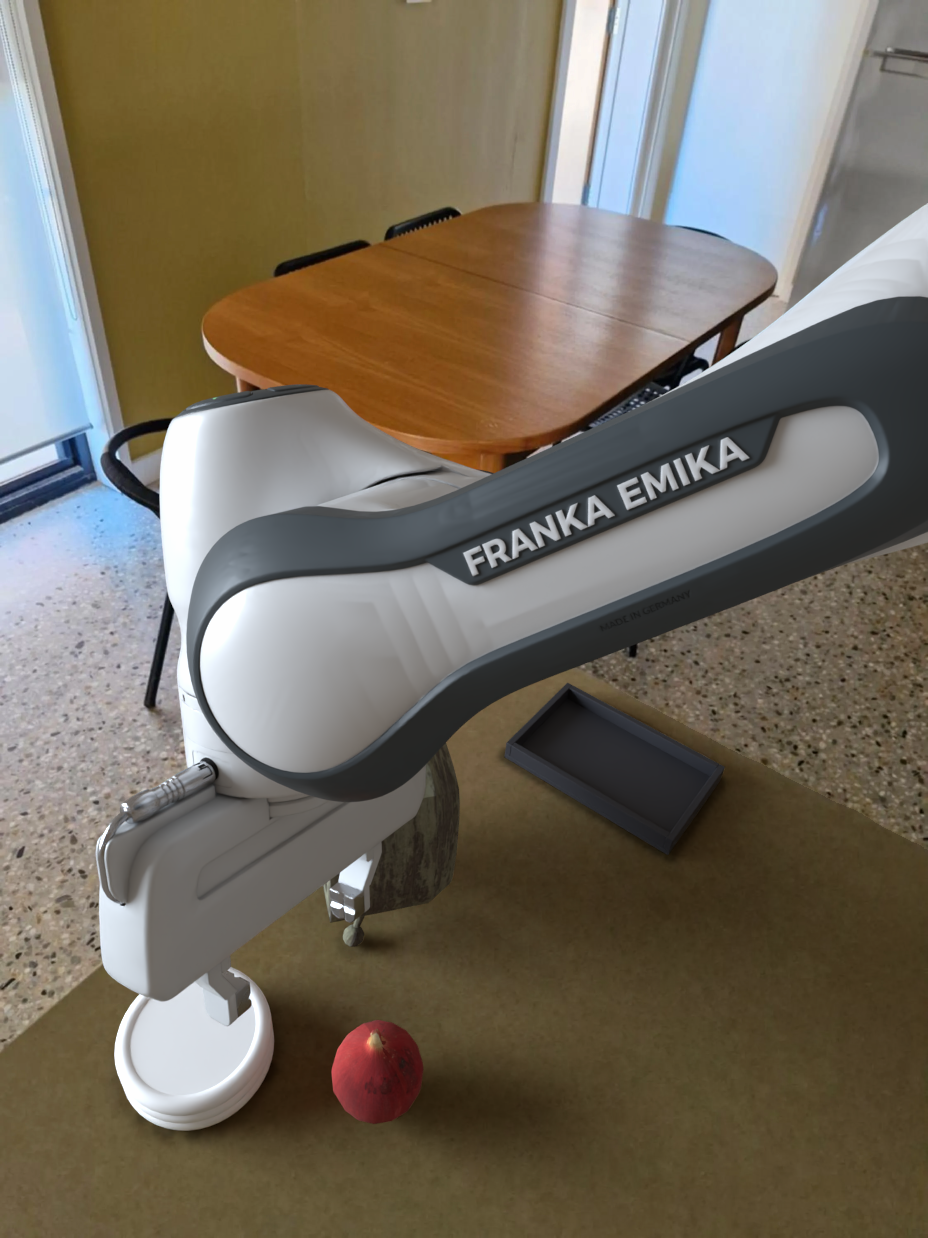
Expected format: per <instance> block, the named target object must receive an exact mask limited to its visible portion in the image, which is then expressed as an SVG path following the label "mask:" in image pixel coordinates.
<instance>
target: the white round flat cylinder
mask: <svg viewBox="0 0 928 1238" xmlns="http://www.w3.org/2000/svg"><path fill="white" fill-rule="evenodd" d="M227 971H229V972H231V973H233V974H234V976H235V977H241V978H243V979H245V980H247V981H249V982H250V990H251V993H250V996H249V999H250V1000H251V1001H252V1006H251V1007H250V1008H249V1009H248V1010H247V1011H246V1012H245V1013H243V1014H242V1015H241V1016H240V1017H239V1018H237V1020H235V1021H234V1022H233V1023H232V1024H231V1025H229V1026H225V1025H223V1024H221V1023H219V1022H218V1021H216V1020H214V1019H212V1018H211V1017H210V1016H209V1015H208V1014H207V1011H206V1009H205V1002H204V994H203V988H202V987H200V986H199V985H198V984H196V983H195V982H194V983H192V984H191V985H190V986H188V987H187V988H186V989H185V990H183V991H182V992H181V993H179V994H178V995H177V996H175V997H174V998H172V999H170V1000H168V1001H164V1002H161V1001H157V1000H154V999H151V998H148V997H145V996H143V995H140V994H138V995H137V996H136V997H135V999H134V1000H133V1001H132V1003H131V1004H130V1005H129V1007H128V1008H127V1011H126V1012H125V1013H124V1016H123V1018H122V1020H121V1022H120V1024H119V1027H118V1031H117V1034H116V1038H115V1043H114V1054H113V1055H114V1065H115V1069H116V1073H117V1076H118V1078H119V1081H120V1084H121V1086H122V1088H123V1091H124V1094H125V1096H126V1099H127V1100H128V1102H129V1103H130V1105H131V1106H132V1108H133V1109H134V1110H135V1111H136V1112H137V1113H138V1114H139V1116H141V1117H143V1118H144V1119H145V1120H146V1121H148V1122H150V1123H152V1124H154V1125H156V1126H159V1127H161V1128H163V1129H167V1130H173V1131H188V1132H189V1131H196V1130H201V1129H205V1128H209V1127H211V1126H214V1125H216V1124H219V1123H221V1122H223V1121H225V1120H227V1119H229V1118H230V1117H231V1116H233V1115H235V1114H236V1113H237V1112H239V1110H240V1109H242V1108H243V1107H244V1106H245V1105H246V1104H247V1103H248V1102H249V1101H250V1100H251V1099H252V1098H253V1097H254V1095H255V1094H256V1092H257V1091H258V1090H259V1088H260V1087H261V1085H262V1083H263V1082H264V1080H265V1078H266V1076H267V1074H268V1072H269V1070H270V1066H271V1063H272V1060H273V1055H274V1050H275V1033H274V1027H273V1019H272V1013H271V1009H270V1005H269V1003H268V1000H267V998H266V996H265V994H264V992H263V990H262V989H261V988H260V987H259V985H258V984H257V983H256V981H254V980H253V979H252V978H251V977H249V975H247V974H246V973H244V972H242V971H241V970H239V969H237V968H234V967H232V966H231V967H230V969H228V970H227Z"/></svg>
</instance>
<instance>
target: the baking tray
mask: <svg viewBox="0 0 928 1238" xmlns="http://www.w3.org/2000/svg"><path fill="white" fill-rule="evenodd" d="M503 757H504V758H505V759H506V760H509V761H510V762H512V763H513V764H515V765H517V766H519V767H520V768H522V769H523V770H525V771H527V772H529V774H532V775H534V776H535V777H537V778H538V779H540V780H542V781H544V782H545V783H546V784H548V785H550V786H551V787H553V788H555V789H557V790H558V791H560V792H562V793H564V794H565V795H567V796H568V797H570V798H572V799H574V800H575V801H577V802H578V803H580V804H581V805H583V806H585V807H587V808H588V809H590V810H592V811H593V812H594V813H597V814H598V815H600V816H602V817H603V818H605V819H606V820H608V821H610V822H612V823H613V824H615V825H616V826H618V827H620V828H621V829H624V830H625V831H627V832H628V833H630V834H632V835H633V836H635V837H637V838H638V839H639V840H641V841H643V842H645V843H646V844H648V845H650V846H652V847H653V848H655V849H657V850H658V851H660V852H661V853H664V854H665V855H667V856H668V855H670V853H671V852H672V850H673V849H674V848H675V846H676V845H677V844H678V842H679V840H680V839H681V837H682V836H683V835H684V833H685V832H686V831H687V829H688V828H689V827H690V825H691V823H692V822H693V820H694V819H695V817H696V816H697V815H698V813H699V812H700V810H701V809H702V807H703V806H704V805H705V804H706V802H707V801H708V799H709V798H710V797H711V795H712V793H714V790H715V789H716V788H717V786H718V785H719V783H720V782H721V780H722V777H723V775H724V771H725V769H726V767H725V766H724V765H722V764H720V763H719V762H717V761H715V760H713V759H711V758H709V757H708V756H706V755H704V754H702V753H700V752H698V751H696V750H694V749H693V748H691V747H689V746H688V745H685V744H683V743H682V742H679V741H678V740H676V739H675V738H674V739H673V738H672V737H670V736H669V735H667V734H665V733H662V732H661V731H660V730H657V729H655V728H654V727H652V726H649V725H648V724H646V723H645V722H642V721H640V720H639V719H637V718H634V717H633V716H631V715H629V714H627V713H625V712H624V711H622V710H620V709H618V708H616V707H614V706H612V705H610V704H609V703H607V702H605V701H603V700H601V699H599V698H597V697H596V696H594V695H591V694H590V693H588V692H586V691H584V690H582V689H581V688H579V687H577V686H575V685H573V684H571V683H569V682H566V683H565V684H564V685H563V686H562V687H561V689H559V690H558V691H557V692H556V693H555V694H554V695H553V696H552V697H551V698H550V699H549V700H548V701H547V702H546V703H545V704H544V705H543V706H542V707H541V708H540V709H538V711H537V712H536V713H535V714H534V715H533V716H532V717H531V718H530V719H529V720H528V721H527V722H526V723H525V724H524V725H522V727H521V728H520V729H519V730H518V731H517V732H515V734H514V735H512V737H511V738H509V740H507V742H505V750H504V755H503Z"/></svg>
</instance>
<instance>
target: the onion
mask: <svg viewBox="0 0 928 1238" xmlns="http://www.w3.org/2000/svg"><path fill="white" fill-rule="evenodd" d="M423 1077H424V1062H423V1059H422V1055H421V1052H420V1048H419V1046H418V1044H417V1042H416V1041H415V1040H414V1039H413V1037H412V1035H411V1034H410V1033H409V1032H408V1031H407V1029H404V1028H403V1027H401V1026H400V1025H398V1024H396V1023H394V1022H391V1021H387V1020H386V1021H385V1020H381V1019H374V1020H372V1021H371V1020H370V1021H368V1022H363V1023H362V1024H360V1025H359V1026H357V1027H356V1028H354V1029H352V1030H351V1031H350V1032H349V1033H347V1035H346V1036H345V1038H344V1039H343V1040H342V1041H341V1044H339V1046H338V1048H337V1050H336V1053H335V1057H334V1059H333V1063H332V1067H331V1081H332V1091H333V1094H334V1095H335V1096H336V1098H337V1100H338V1102H339V1103H340V1104H341V1105H340V1106H342V1108H343V1109H344V1111H345V1112H346V1113H348V1114H349V1115H350V1116H352V1117H353V1118H354V1119H356V1120H357V1121H360V1122H363V1123H367V1124H372V1125H378V1124H384V1123H390V1122H393V1121H395V1120H396V1119H398V1118H399V1117H401V1116H402V1115H405V1114H406V1113H408V1112H409V1110H410V1109H411V1107H412V1106H413V1104H414V1102H415V1101H416V1099H417V1097H419V1094H420V1092H421V1089H422V1083H423Z"/></svg>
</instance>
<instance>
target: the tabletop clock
mask: <svg viewBox="0 0 928 1238" xmlns="http://www.w3.org/2000/svg"><path fill="white" fill-rule="evenodd" d="M459 787H460V786H459V782H458V778H457V773H456V769H455V766H454V763H453V760H452V756H451V753H450V750H449V747H448V744H447V742H446V743H445V744H444V745H443V746H442V747H441V749H440V750H439V751H438V752H437V753H436V754H435V755H434V756H433V757H432V759H431V760H430V761H429V762H428V763H427V764H426V787H425V794H424V797H423V800H422V803H421V805H420V808H419V810H418V812H417V814H416V816H415V817H414V818H412V819H411V820H410V821H408V822H407V823H405V824H404V825H403V826H401V827H400V828H399V829H397V830H396V831H395V832H393V833H392V834H391V835H389V836H388V837H387V838H385V839H384V840H383V841H381V843H382V853H381V856H380V859H379V862H378V865H377V868H376V871H375V873H374V876H373V879H372V882H371V885H369V893H370V908H369V909H368V910H367V911H366V912H365V913H364V914H362V915H361V916H360V917H359V918H357V919H356V920H355V921H353V924H350V925H348V926H347V927H346V928H345V929H344V930H343V933H342V940H343V942H344V944H345V945H347V946H348V947H351V948H357V947H358V946H359V945H361V944H362V943H363V942H364V938H365V931H364V930H363V928H362V927H361V926H362V923H363V922H364V919H365V917H367V916H371V915H377V914H382V913H387V912H391V911H396V910H397V911H398V910H401V909H406V908H411V907H416V906H421V905H426V904H429V903H431V902H432V900H434V899H435V898H436V897H437V896H438V895H440V893H442V892H443V891H444V890H445V889H446V888H447V887H448V886H449V885H450V884H451V883H452V882H453V878H454V873H455V865H456V860H457V854H458V853H457V852H458V842H459V830H460V829H459V828H460V817H461V815H460V814H461V813H460V812H461V808H460V807H461V802H460V801H461V800H460V788H459ZM339 876H340V873H339V874H338V875H336V876H335V877H334V878H332V879H331V880H330V881H328V882H327V883H326V884H324V885H323V886H322V888H323V894H324V900H325V903H326V909H327V914H328V919H329V923H331V924H332V923H336V922H342V921H345V919H340V918H337V917H336V916H335V915H333V913H332V911H331V903H332V900H331V899H330V888H331V887H333V886H334V885H335V884H336V883H338V882H339V881H338V880H339Z"/></svg>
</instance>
